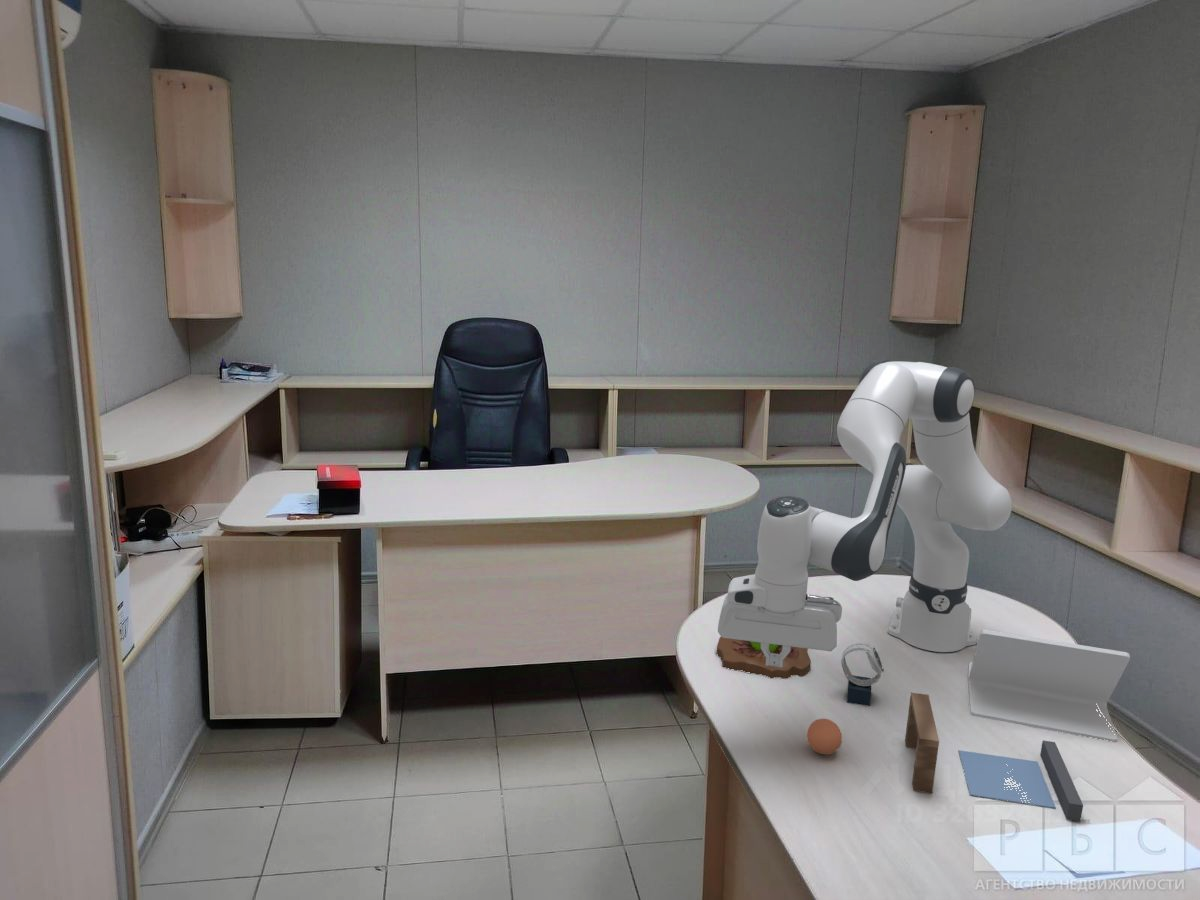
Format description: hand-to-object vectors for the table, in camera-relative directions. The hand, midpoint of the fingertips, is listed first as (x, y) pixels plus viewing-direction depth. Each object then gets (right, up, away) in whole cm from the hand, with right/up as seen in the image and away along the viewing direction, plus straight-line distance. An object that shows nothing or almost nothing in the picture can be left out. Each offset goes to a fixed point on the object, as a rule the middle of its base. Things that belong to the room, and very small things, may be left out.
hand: (774, 665), depth 157 cm
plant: (+5, -7, +37) cm, 38 cm away
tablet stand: (+55, -13, +19) cm, 60 cm away
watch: (+21, -11, +20) cm, 31 cm away
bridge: (+25, -17, -2) cm, 30 cm away
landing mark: (+38, -18, -5) cm, 42 cm away
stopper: (+46, -19, -6) cm, 51 cm away
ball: (+9, -13, +1) cm, 16 cm away
